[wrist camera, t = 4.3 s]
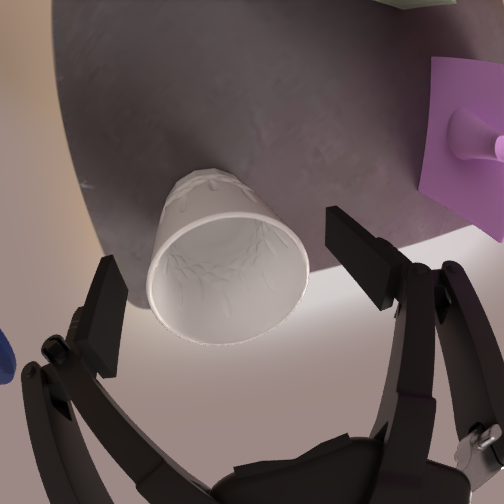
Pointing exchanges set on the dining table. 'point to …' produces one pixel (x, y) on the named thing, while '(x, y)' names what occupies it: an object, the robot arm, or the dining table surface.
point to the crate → (415, 3)
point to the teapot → (466, 141)
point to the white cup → (223, 262)
